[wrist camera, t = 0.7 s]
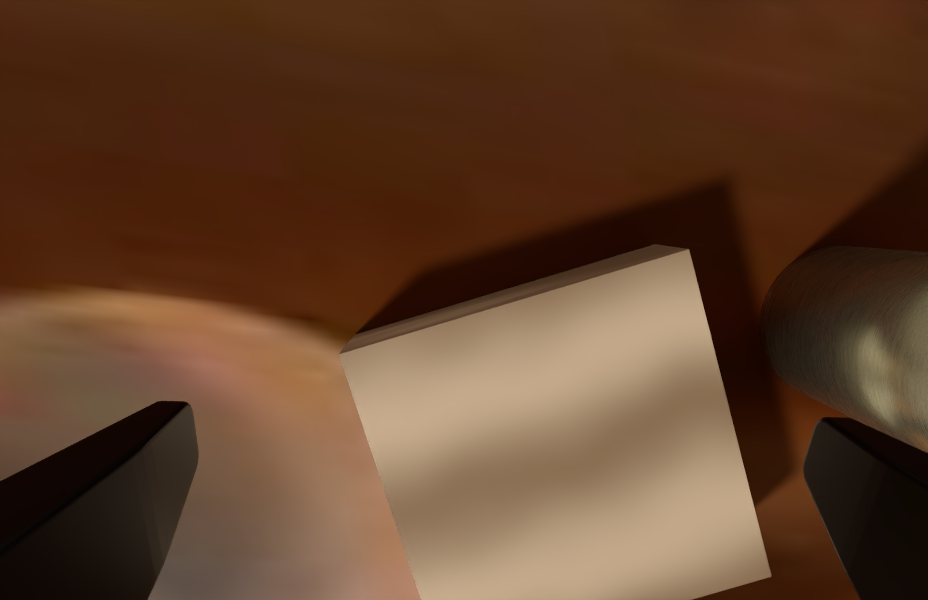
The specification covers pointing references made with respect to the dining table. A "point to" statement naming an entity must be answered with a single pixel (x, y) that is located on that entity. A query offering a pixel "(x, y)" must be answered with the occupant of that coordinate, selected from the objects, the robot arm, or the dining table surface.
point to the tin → (855, 335)
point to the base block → (562, 439)
